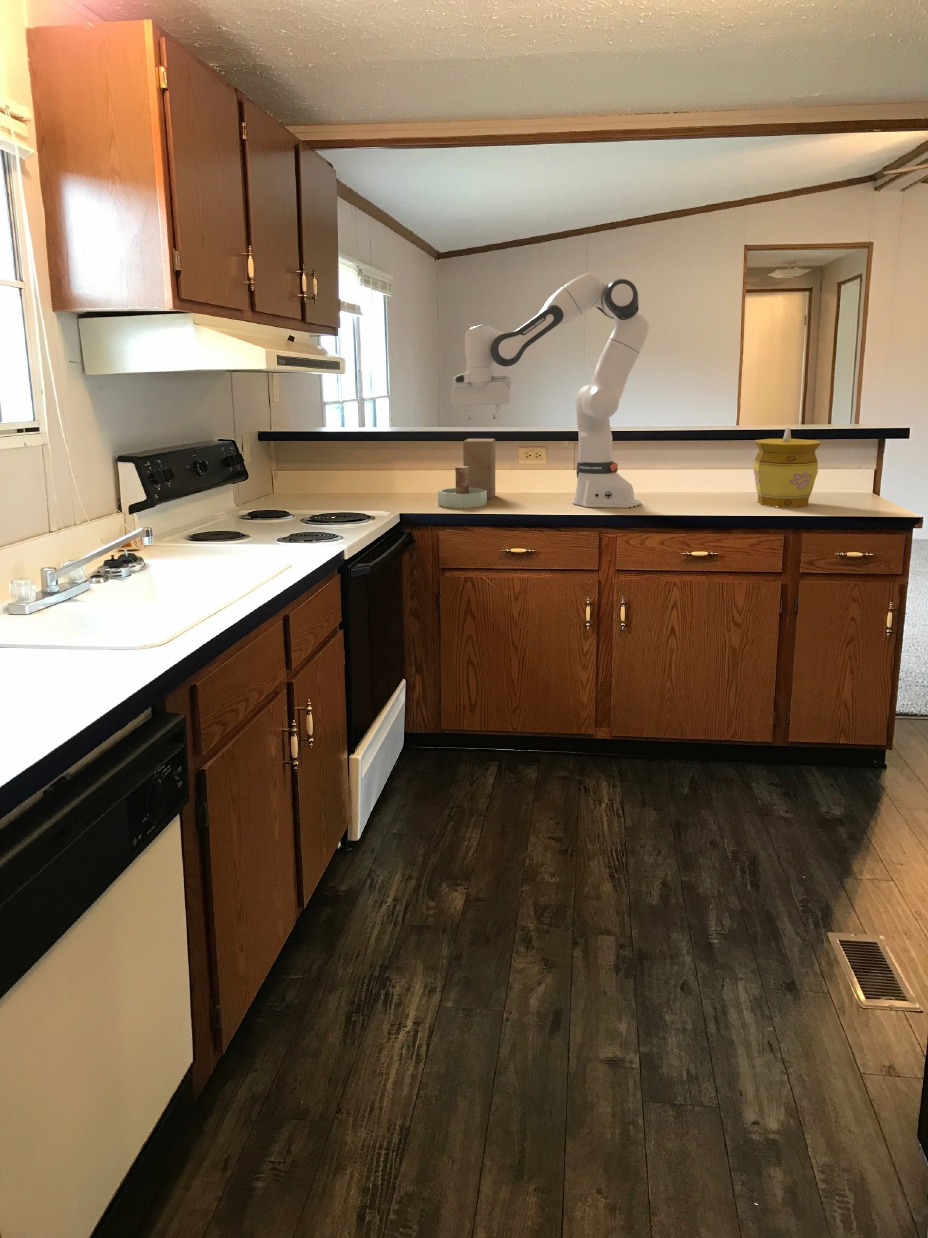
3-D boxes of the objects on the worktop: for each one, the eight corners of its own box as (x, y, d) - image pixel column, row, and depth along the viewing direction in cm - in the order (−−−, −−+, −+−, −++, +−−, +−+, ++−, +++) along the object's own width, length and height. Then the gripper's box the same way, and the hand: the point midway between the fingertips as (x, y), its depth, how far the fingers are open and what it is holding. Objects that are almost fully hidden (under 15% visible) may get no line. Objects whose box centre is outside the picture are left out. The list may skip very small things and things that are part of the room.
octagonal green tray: (490, 501, 339) (490, 488, 337) (476, 508, 325) (476, 494, 324) (449, 500, 344) (449, 486, 342) (433, 506, 330) (433, 492, 329)
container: (743, 506, 324) (748, 428, 317) (756, 497, 342) (762, 424, 335) (810, 510, 314) (817, 430, 308) (820, 501, 332) (827, 425, 326)
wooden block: (491, 499, 345) (491, 441, 340) (463, 498, 347) (462, 441, 341) (495, 495, 355) (495, 438, 349) (467, 494, 356) (467, 438, 351)
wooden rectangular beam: (469, 502, 335) (468, 466, 332) (465, 503, 332) (465, 467, 329) (459, 501, 336) (459, 466, 333) (455, 503, 333) (455, 467, 330)
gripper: (513, 374, 324) (514, 417, 328) (454, 377, 331) (456, 419, 335) (507, 375, 319) (509, 419, 322) (447, 378, 326) (450, 420, 329)
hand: (482, 419), depth 329 cm, fingers open, 8 cm apart
